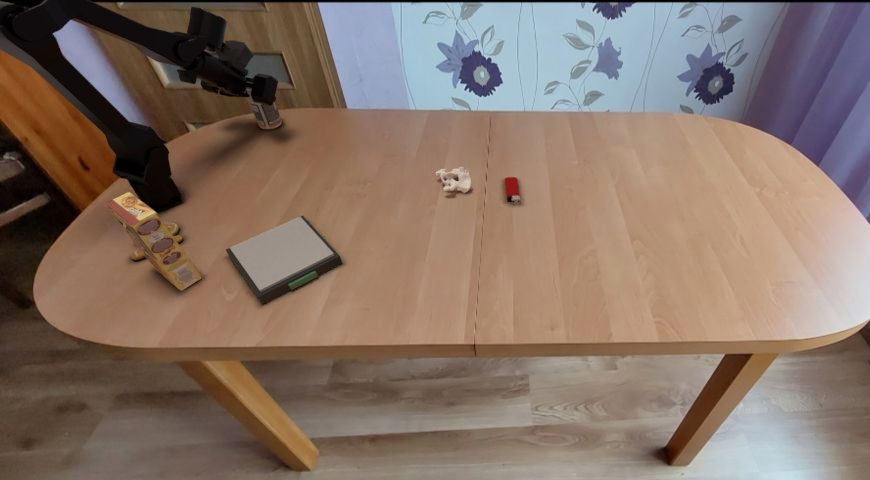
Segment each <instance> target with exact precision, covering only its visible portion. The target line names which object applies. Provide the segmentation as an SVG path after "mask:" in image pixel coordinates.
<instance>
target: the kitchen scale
mask: <svg viewBox="0 0 870 480" xmlns="http://www.w3.org/2000/svg"><path fill="white" fill-rule="evenodd" d="M225 251H226V253H227V255H228V257H229V258H230V260H231V261H232V262H233V264H234V266H235V267H236V268H237V270H238V271H239V273H240V274H241V276H242V277H243V279H244V280H245V282H246V283H247V285H248V286H249V287H250V288H251V290H252V291H253V294H254V295H255V296H256V297H257V299H258V301H259V302H260V304H262V305H265V304H266V303H268V302H270V301H272V300H275V299H277V298H278V297H280V296H282V295H284V294H286V293H288V292H290V291H293V290H294V289H296V288H299V287H301V286H303V285H304V284H306V283H308V282H310V281H312V280H314V279H316V278H318V277H319V276H321V275H323V274H325V273H327V272H329V271H331V270H333V269H335V268H337V267H338V266H339V267H340V266H341V265H343V262H342V258H341V256H340V254H339V253H338V252H337V251H336V250H335V249H334V248H333V247H332V245H330V244H329V242H328V241H327V240H326V239H325V238H324V237H323V235H322V234H321V233H320V232H319V231H318V230H317V229H316V228H315V227H314V226H313V225H312V224H311V223H310V221H309V220H307V218H306V217H305V216H304V215H300V216H298V217H295V218H292V219H291V220H288V221H287V222H284V223H282V224H280V225H277V226H275V227H272V228H271V229H270V228H269V229H268V230H265V231H264V232H262V233H259V234H256V235H254V236H252V237H250V238H247V239H246V240H243V241H241V242H239V243H237V244H234V245H232V246H230V247H229V248H226V249H225Z"/></svg>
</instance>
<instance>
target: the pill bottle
mask: <svg viewBox="0 0 870 480" xmlns="http://www.w3.org/2000/svg"><path fill="white" fill-rule="evenodd" d="M246 89H247V92H248V94H249V95H250V96H249V97H248V103H249V105H250V107H251V110H252V113H253V115H254V117H255V120H256V122H257V125H258V127H259V128H261V129H263V130H273V129H277V128H279V127H280V126H281V125H282V123H283V120H282V117H281V115H280V112H279V109H278V107H277V104H276V101H275V102H273V104H272V105H271V106H269V105H265V104H260V103H255V102H253V100H252V97H251V90H252V89H248V88H246Z"/></svg>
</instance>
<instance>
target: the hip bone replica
mask: <svg viewBox="0 0 870 480" xmlns="http://www.w3.org/2000/svg"><path fill="white" fill-rule="evenodd" d="M446 171H447V169H446V168H441V169H439V170H437V171H435V175H436V177H439V178H440V180H441V182H442V183H443V185H444V187H443V188H442V190H443V192H444V193H445V192H453V191H455V190H456V191H457V192H459V191H460V192H462V193H463V194H465V193H467V192H469V191H470V189H471V188H472V179H471V177H470V172H469V169H466V168H465V167H463V166H459V167H457V168H452V170H450V171H448V172H446ZM444 178H445V179H444ZM454 178H455V179H457V178H458V181H457V180H455V179H454Z"/></svg>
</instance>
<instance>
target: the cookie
mask: <svg viewBox="0 0 870 480" xmlns="http://www.w3.org/2000/svg"><path fill="white" fill-rule="evenodd" d="M164 224H165V225H166V227H167V228H168V230H169V231H170V232H171V234H172V235H173V237H174V238H175V240H176V241H177V243H178V244H180V243H181V242H182V241H183V237H182V235H178V233H179V232H180V227H179V225H178V224H177V223H176V222H164ZM129 257H130V259H131V260H132V261H139V260H143V259H144V258H146V256H145V255H144V254H143V253H142V252H141V250H140V249H139V248H138V249H137V250H135V251H134V252H132V253H131V254H130V256H129Z"/></svg>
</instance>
